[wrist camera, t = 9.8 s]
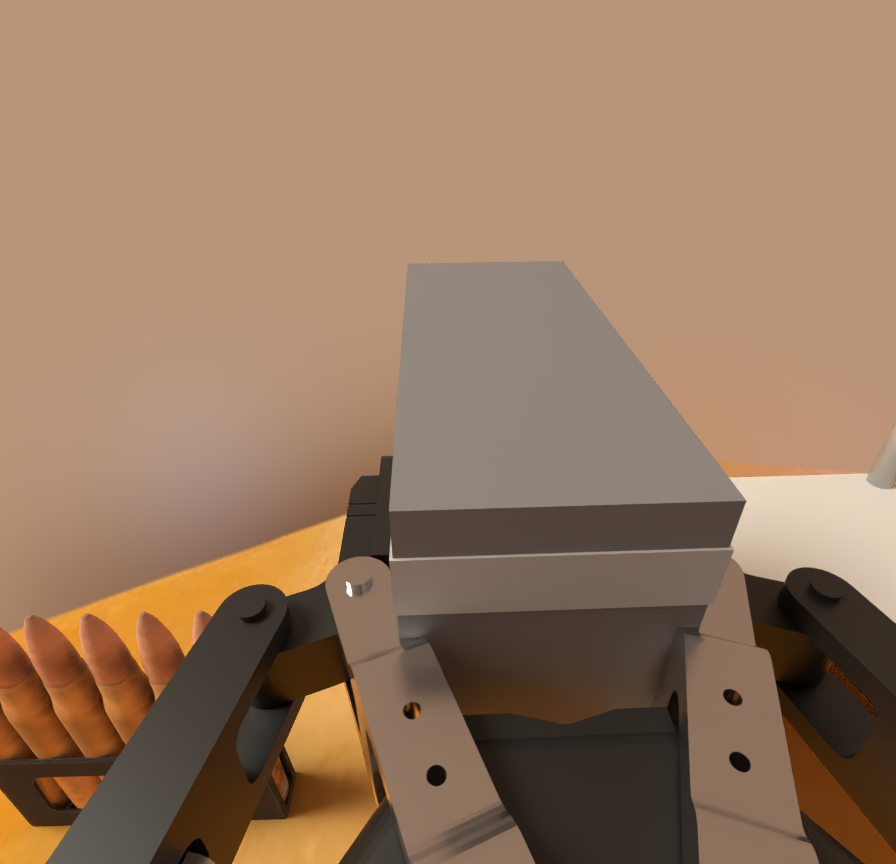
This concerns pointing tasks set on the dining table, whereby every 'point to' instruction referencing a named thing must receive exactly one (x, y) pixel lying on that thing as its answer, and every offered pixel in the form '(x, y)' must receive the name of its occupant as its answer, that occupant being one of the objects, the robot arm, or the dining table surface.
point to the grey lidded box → (544, 497)
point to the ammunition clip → (87, 713)
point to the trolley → (824, 527)
